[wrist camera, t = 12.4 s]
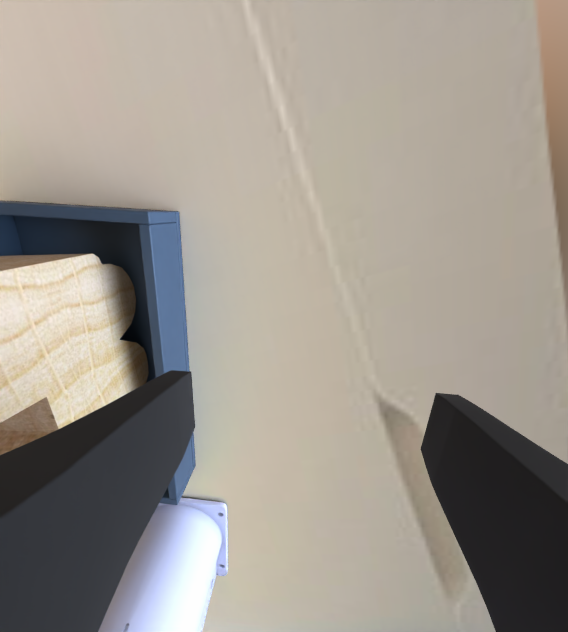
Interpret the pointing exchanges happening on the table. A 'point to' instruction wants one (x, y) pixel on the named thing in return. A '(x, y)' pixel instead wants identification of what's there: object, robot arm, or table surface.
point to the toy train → (62, 342)
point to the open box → (136, 260)
